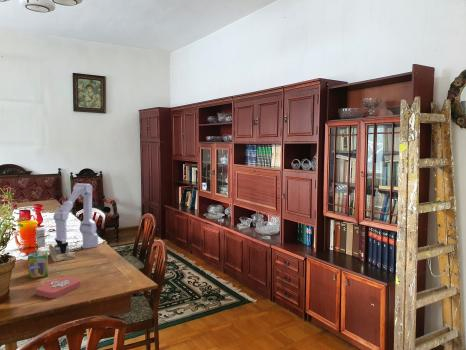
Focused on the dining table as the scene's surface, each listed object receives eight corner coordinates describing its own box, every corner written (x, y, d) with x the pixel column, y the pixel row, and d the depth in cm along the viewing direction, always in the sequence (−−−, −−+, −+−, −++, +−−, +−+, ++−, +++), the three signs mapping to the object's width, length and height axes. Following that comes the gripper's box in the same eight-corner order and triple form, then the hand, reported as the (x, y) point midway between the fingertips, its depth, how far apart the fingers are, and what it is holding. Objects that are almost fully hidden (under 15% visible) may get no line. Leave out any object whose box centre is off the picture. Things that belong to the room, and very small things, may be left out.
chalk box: (48, 276, 197) (47, 249, 195) (28, 279, 193) (27, 251, 191) (48, 271, 205) (47, 244, 204) (29, 273, 201) (28, 246, 200)
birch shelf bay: (69, 251, 241) (69, 241, 240) (75, 258, 228) (75, 247, 227) (49, 254, 234) (49, 244, 233) (54, 261, 221) (53, 250, 220)
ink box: (31, 247, 248) (30, 230, 247) (30, 246, 252) (29, 229, 251) (45, 246, 252) (44, 229, 251) (44, 244, 256) (43, 227, 255)
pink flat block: (60, 274, 191) (82, 278, 185) (61, 281, 191) (83, 286, 185) (29, 286, 175) (52, 292, 169) (30, 294, 175) (52, 300, 169)
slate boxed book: (67, 254, 232) (67, 246, 232) (69, 256, 229) (68, 247, 229) (55, 256, 228) (55, 247, 228) (56, 258, 225) (56, 249, 224)
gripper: (51, 229, 231) (52, 250, 232) (56, 234, 219) (57, 256, 220) (64, 227, 235) (64, 248, 236) (69, 232, 223) (70, 254, 224)
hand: (62, 252), depth 228 cm, fingers open, 6 cm apart
